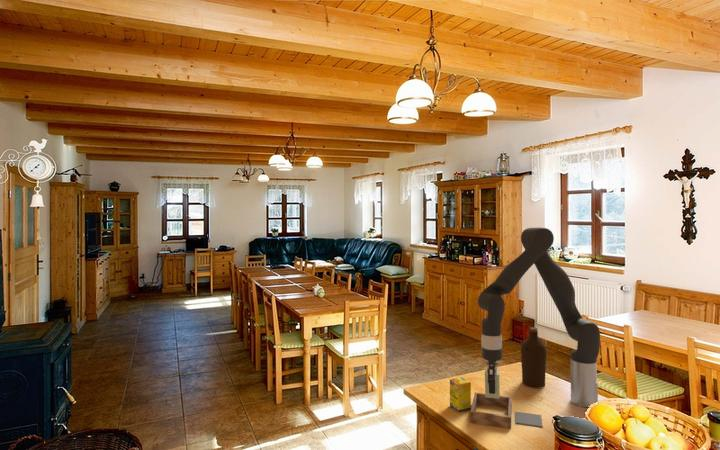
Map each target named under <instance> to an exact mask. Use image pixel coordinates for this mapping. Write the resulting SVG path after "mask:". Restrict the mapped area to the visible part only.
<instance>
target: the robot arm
mask: <svg viewBox="0 0 720 450" xmlns="http://www.w3.org/2000/svg"><path fill="white" fill-rule="evenodd" d="M554 237H555V236H554V234H553V231H552V230H551V229H549V228H547V227H543V226H541V227H539V226H537V227H536V226H535V227H527V228H526V229H523V230H522V232H521V235H520V243H521V244H522V247H523V249H524V250H523V252H522V253H520V254H519V256H517V257H516V258H515V259H513V260H512V261H510V263H509V264H507V265H506V266H505V267H504V268H503V269H502V271H501V272H500V273H499V274H498V276H497V277H496V279H495V280H494V281H493V282H491V284H489V285H488V286H487V287H486V288H484V289H483V290H482V292H481V293H480V294H479V295H478V299H477V305H478V307H479V308H480V309H481V310H483V311H486V312H487V316H486V317H483V318H482V319H481V339H480V340H481V341H480V343H481V344H480V345H481V350H480V351H481V358H482V359H483V360H484V361H486V363H485V364H486V367H485V369H487V376H488V384H489V393H490V394H495V383H496V382H495V378H496V377H497V370H498V365H499V363H498V361H499V362H500V361H502V359H503V339H502V323H503V318H504V314H505V308H506V306H505V305H506V303H505V300H504V298H503V297H502V296H503V295H508V294H510V293H512V291H513V290H514V289H515V287H516V286H517V285H518V283H519V281H521V279H522V278H523V276H525V274H526V272H528V271H529V270H530V268H531V267H532V266H533V265H534V266H535V268H536V270H537V271H538V274H539V275H540V277H541V280H542V281H543V284H544V285H545V288H546V290H547V291H548V293H549V295H550V297H551V300H552V301H553V303H554V304H555V307H556V309H557V310H558V312H559V314H560V317H561V319H562V322H563V325H564V328H565V330H566V333H567V334H568V336H569V337H570V338H571V339H572V340H574V341H576V342H577V347H576V349H574V350H572V351H571V352H570V402H571V403H572V404H574V405H576V406H578V407H583V408H589V407H588V406H590V405H591V404H593V403H596V402H598V399H599V394H598V393H599V392H598V391H599V384H598V381H597V380H598V377H597V376H598V375H597V374H598V371H597V370H598V364H597V363H598V357H599V355H600V354H599V353H600V347H601V346H600V344H601V342H600V341H601V332H600V328H599V326H598V325H597V324H596V323H594V322H592V321H589V320H588V319H584V317H583V316H582V315H581V313H580V311H579V309H578V308H577V304H576V292H575V287H574V285H573V283H572V281H571V278H570V277H569V275H568V274H567V272H566V271H565V270H564V269H563V268H562V267H561V266H560V265H559V264H558V263H557V262H556V261H555V260H554V259H553V258H552V257H551V255H550V254H549V252H548V251H549V249H550V248H551V247H552V246H553V244H554V240H555V238H554ZM490 379H494V381H493V380H490ZM598 403H599V402H598Z"/></svg>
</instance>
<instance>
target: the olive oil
mask: <svg viewBox="0 0 720 450" xmlns="http://www.w3.org/2000/svg"><path fill="white" fill-rule="evenodd" d="M538 333H539V332H538V328H537V327H529V336H528V337H527V338H526V339H525V340H524V341H523V342H522V344H521V347H520V358H521V377H522V378H521V380H522V381H521V382H522V384H523V385H524V386H526V387H529V388H534V389H541V388H544V387H545V386H546V373H547V372H546V369H547V353H548V351H547V347H546V345H545V343H544V342H543V341H542V340H541V339H540V338H539V336H538V335H539V334H538Z"/></svg>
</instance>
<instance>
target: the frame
mask: <svg viewBox="0 0 720 450" xmlns="http://www.w3.org/2000/svg"><path fill="white" fill-rule="evenodd" d="M512 401H513V399H512V396H507V395H500V396H499V399H496V398H488V397H485V392H484V393H482V392H476V391H475V392H474V395H473V399H472V402H471V409H470V415H469V416H470V423H471V424H478V425H484V426H489V427H497V428H504V429H512V411H513V410H512V406H513V405H512V403H513V402H512ZM478 404H479V405H485V406H486V405H487V406H492V407H493V406H494V407H501V408H508V409H507V410H508V411H507V412H508V415H504V414H496V413H491V412H490V413H489V412H481V411H478V410H477V406H478Z"/></svg>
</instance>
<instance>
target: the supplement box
mask: <svg viewBox="0 0 720 450" xmlns="http://www.w3.org/2000/svg"><path fill="white" fill-rule="evenodd" d="M471 383H472V382H471V381H470V380H469V381H468V379H466V378H464V377H463V376H458V377H454V378H450V379H449V406H450V407H451V408H452V409H454V410H456V412H457V413H461V412H465V411H471V407H472V401H471V400H472V399H471V398H472V396H471V395H472V392H471V390H472V389H471V388H472V387H471V386H472V384H471Z"/></svg>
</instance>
